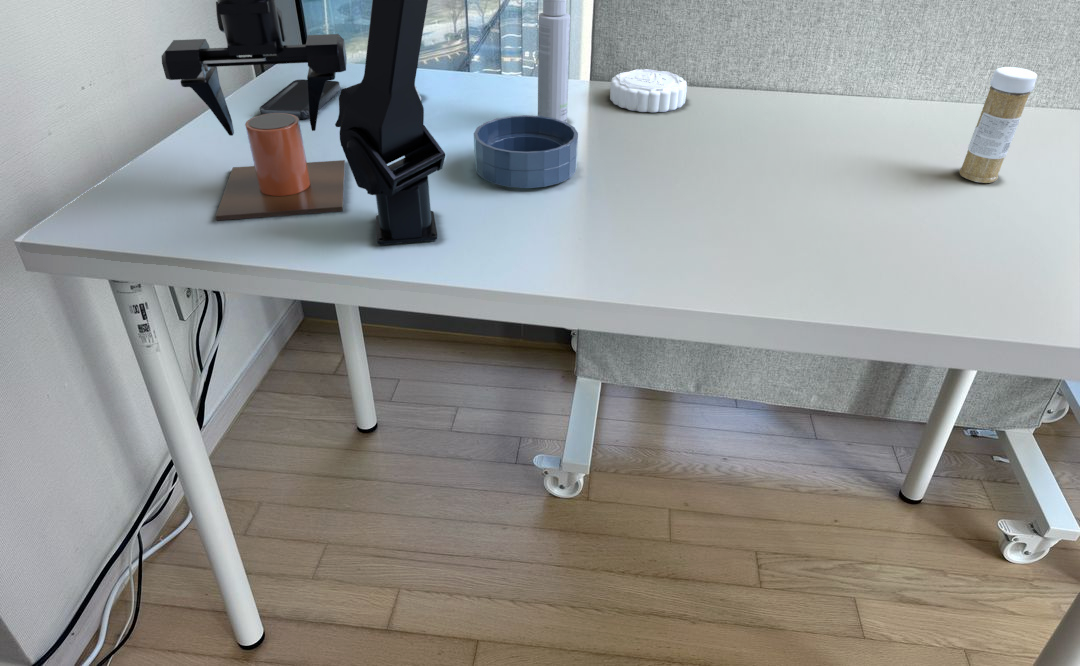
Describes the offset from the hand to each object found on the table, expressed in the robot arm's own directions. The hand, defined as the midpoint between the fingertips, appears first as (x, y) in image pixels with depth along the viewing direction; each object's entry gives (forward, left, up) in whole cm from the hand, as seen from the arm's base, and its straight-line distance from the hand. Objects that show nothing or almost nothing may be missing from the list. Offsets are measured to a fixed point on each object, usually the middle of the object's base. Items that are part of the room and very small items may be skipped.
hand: (273, 132), depth 87 cm
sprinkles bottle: (-11, -87, -8) cm, 88 cm away
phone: (+33, 0, -7) cm, 34 cm away
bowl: (+1, -30, -7) cm, 31 cm away
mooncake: (+25, -54, -8) cm, 60 cm away
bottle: (+18, -37, -8) cm, 42 cm away
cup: (0, 0, -7) cm, 7 cm away
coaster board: (0, 0, -7) cm, 7 cm away
